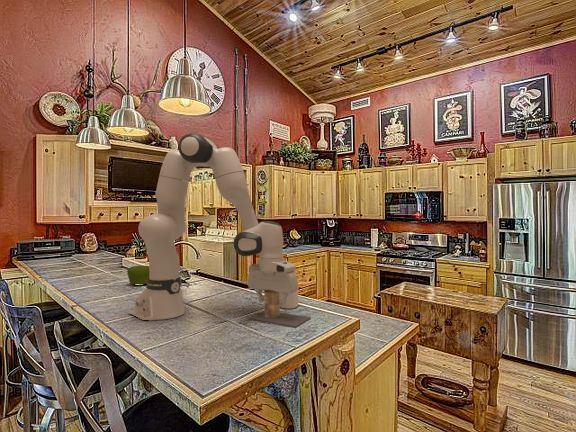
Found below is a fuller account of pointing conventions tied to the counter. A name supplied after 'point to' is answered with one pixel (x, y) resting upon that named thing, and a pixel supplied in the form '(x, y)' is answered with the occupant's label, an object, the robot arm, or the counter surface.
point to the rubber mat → (281, 319)
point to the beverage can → (290, 300)
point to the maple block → (271, 304)
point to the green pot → (138, 274)
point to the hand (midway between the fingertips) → (272, 302)
